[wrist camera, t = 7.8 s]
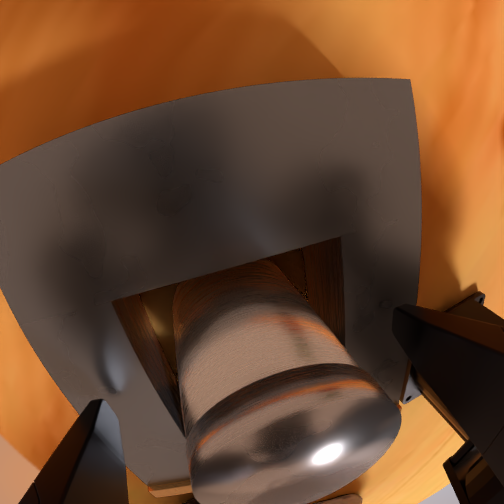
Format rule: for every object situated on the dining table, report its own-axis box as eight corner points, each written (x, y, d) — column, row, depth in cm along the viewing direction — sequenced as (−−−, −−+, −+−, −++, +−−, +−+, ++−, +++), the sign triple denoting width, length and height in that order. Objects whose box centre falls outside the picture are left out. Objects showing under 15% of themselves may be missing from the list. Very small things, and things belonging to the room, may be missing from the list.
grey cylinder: (296, 335, 12) (385, 468, 6) (191, 366, 12) (226, 526, 5) (281, 234, 11) (418, 358, 4) (154, 269, 10) (151, 453, 4)
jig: (366, 377, 15) (399, 416, 12) (151, 445, 13) (155, 497, 10) (354, 88, 9) (417, 78, 6) (13, 170, 7) (-42, 187, 4)
